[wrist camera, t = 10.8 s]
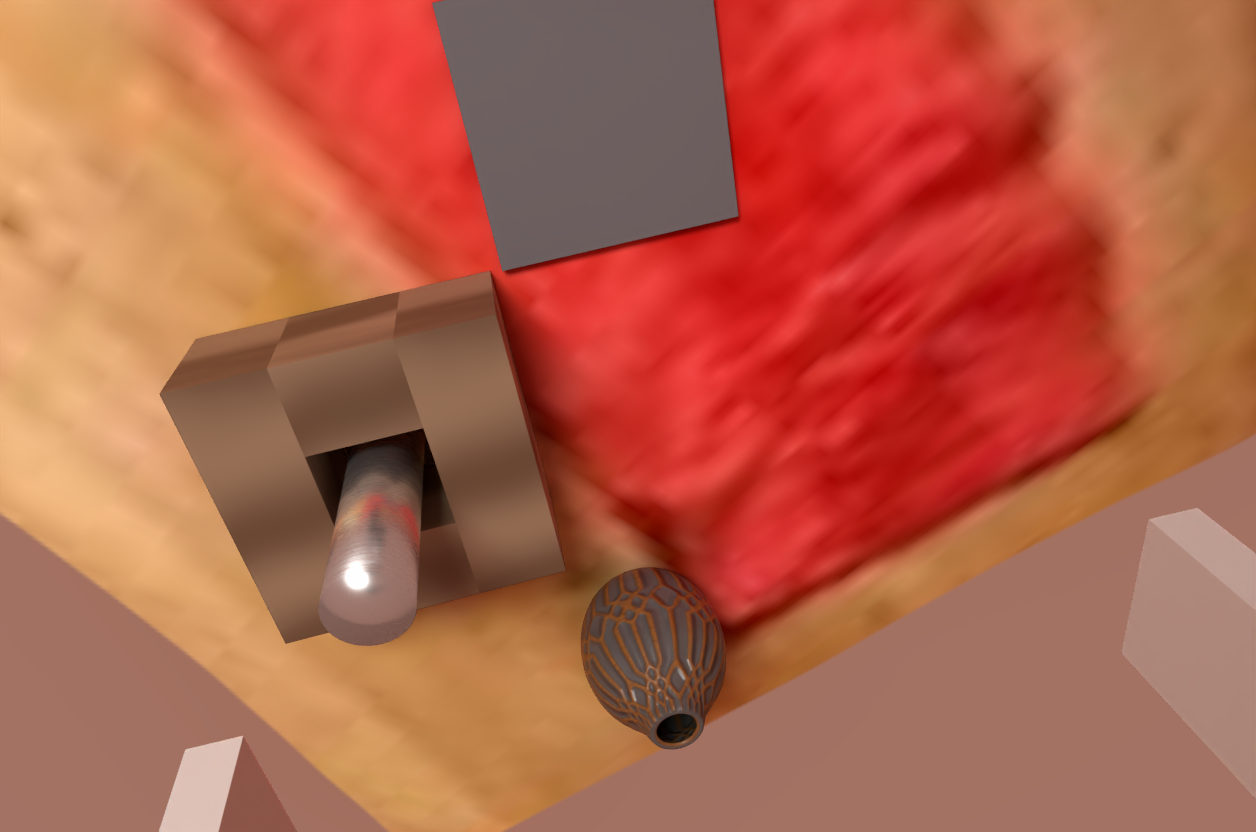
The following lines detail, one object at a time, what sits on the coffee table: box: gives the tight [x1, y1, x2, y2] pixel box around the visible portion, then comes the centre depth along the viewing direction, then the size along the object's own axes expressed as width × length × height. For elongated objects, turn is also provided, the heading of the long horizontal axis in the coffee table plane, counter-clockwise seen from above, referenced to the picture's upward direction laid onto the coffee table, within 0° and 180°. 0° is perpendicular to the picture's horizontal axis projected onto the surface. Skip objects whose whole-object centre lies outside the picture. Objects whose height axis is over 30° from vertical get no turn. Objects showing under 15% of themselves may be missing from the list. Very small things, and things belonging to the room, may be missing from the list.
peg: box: [318, 428, 425, 646], centre depth 33 cm, size 3×3×12 cm
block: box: [160, 271, 566, 643], centre depth 36 cm, size 12×12×5 cm
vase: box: [581, 568, 726, 749], centre depth 41 cm, size 7×7×9 cm
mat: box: [432, 0, 738, 271], centre depth 33 cm, size 10×10×1 cm
